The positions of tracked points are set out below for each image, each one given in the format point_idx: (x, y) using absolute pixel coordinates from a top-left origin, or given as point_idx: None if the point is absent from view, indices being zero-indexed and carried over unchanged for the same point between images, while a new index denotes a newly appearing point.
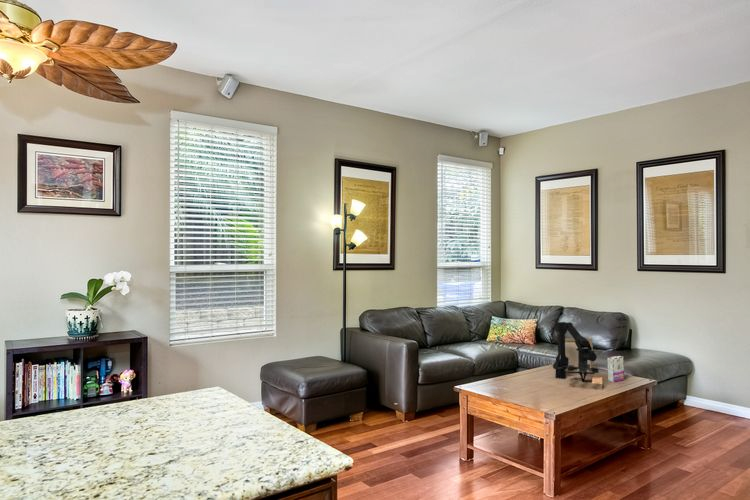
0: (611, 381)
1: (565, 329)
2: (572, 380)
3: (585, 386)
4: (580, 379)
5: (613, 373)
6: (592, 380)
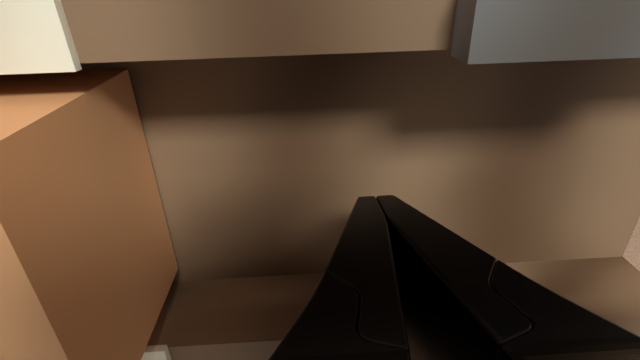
0: None
1: None
2: (595, 288)
3: None
4: None
5: None
6: (24, 126)
